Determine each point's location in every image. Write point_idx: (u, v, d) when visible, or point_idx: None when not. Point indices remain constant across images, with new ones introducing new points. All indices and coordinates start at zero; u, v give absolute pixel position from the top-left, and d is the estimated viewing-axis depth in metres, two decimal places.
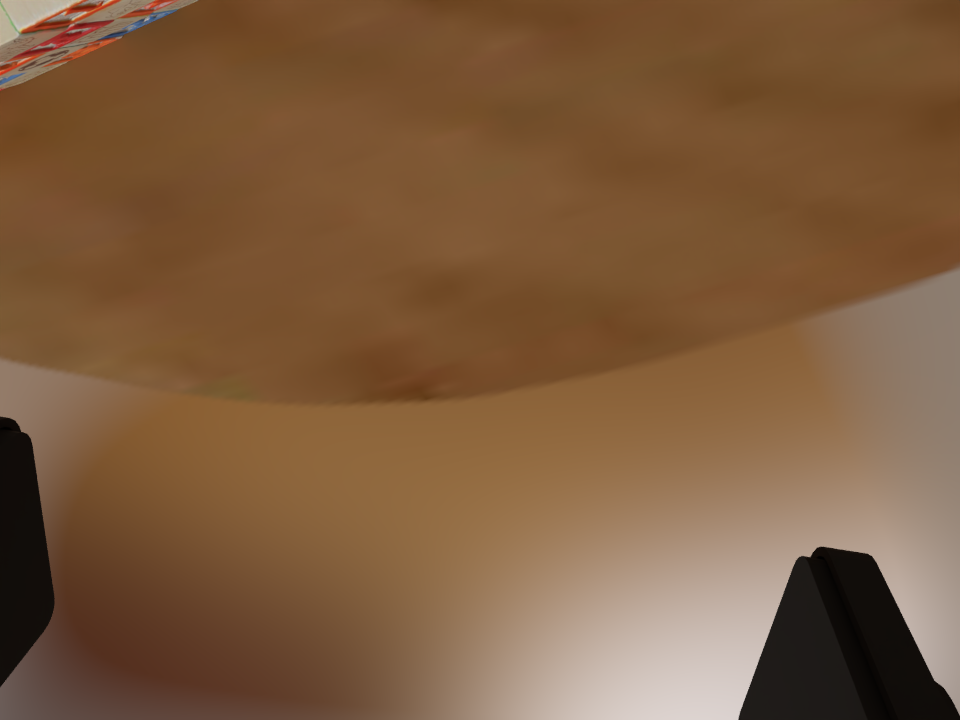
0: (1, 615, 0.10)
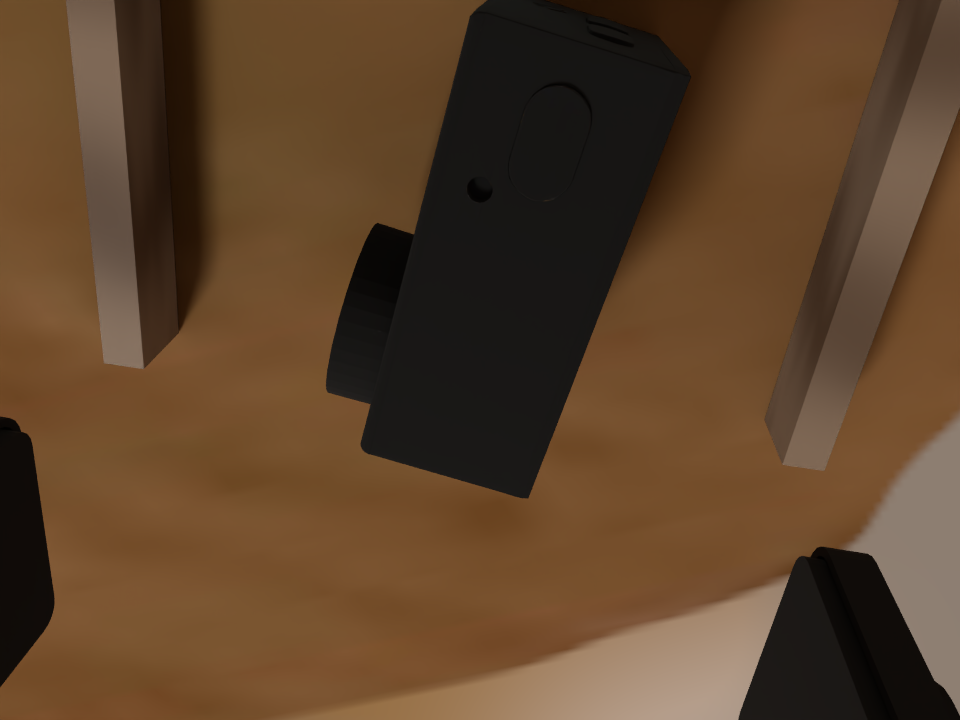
0: (1, 615, 0.10)
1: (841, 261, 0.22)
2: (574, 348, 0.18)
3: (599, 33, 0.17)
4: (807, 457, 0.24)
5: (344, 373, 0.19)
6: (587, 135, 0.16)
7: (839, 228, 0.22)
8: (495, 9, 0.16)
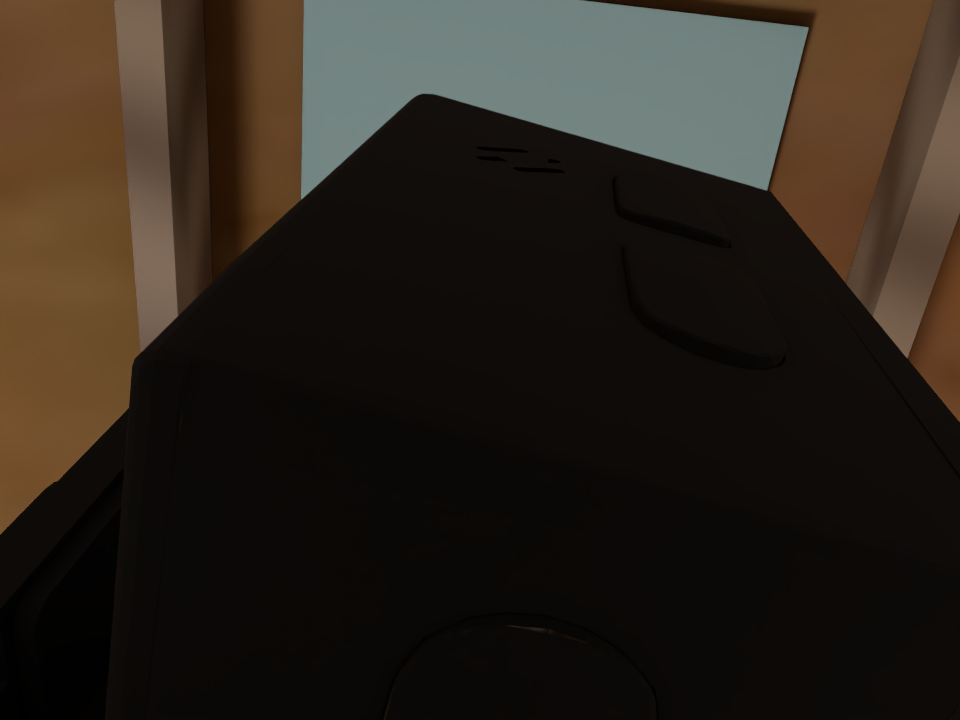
0: None
1: None
2: None
3: (672, 327, 0.05)
4: None
5: None
6: None
7: None
8: (276, 290, 0.04)
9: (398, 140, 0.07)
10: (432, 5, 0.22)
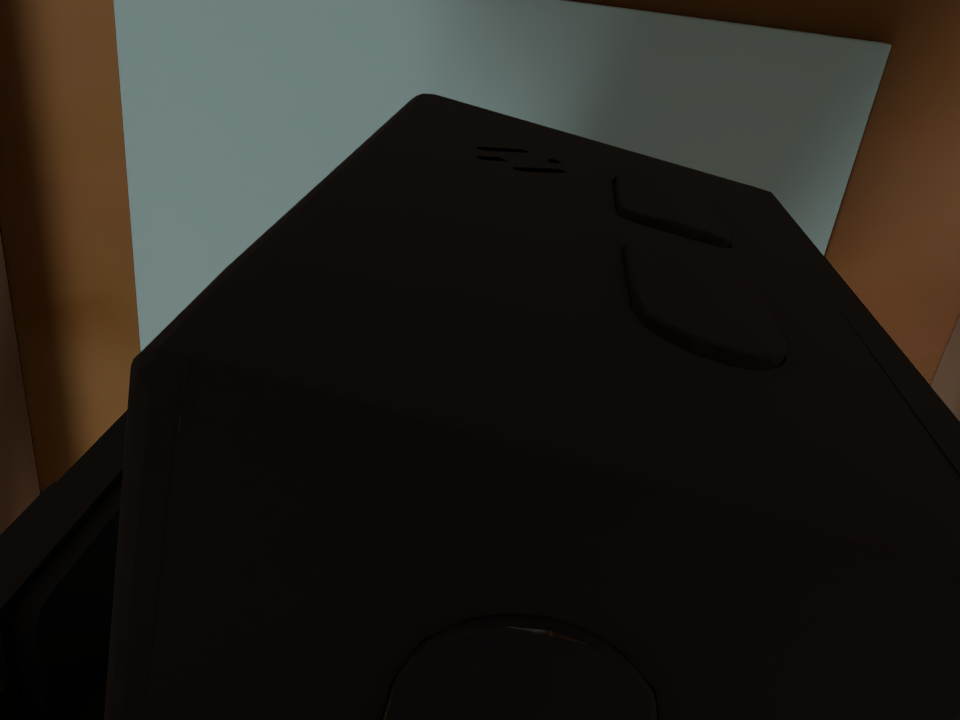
0: None
1: None
2: None
3: (672, 328, 0.05)
4: None
5: None
6: None
7: None
8: (276, 290, 0.04)
9: (398, 140, 0.07)
10: (310, 2, 0.14)
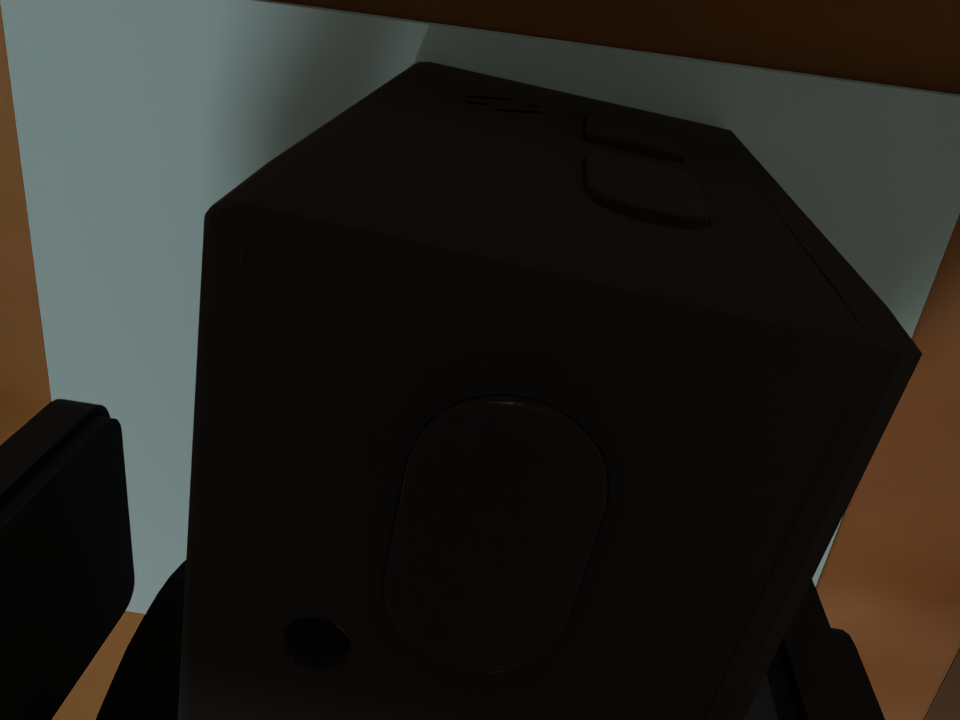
0: (93, 592, 0.10)
1: None
2: None
3: (615, 200, 0.06)
4: None
5: None
6: (600, 519, 0.05)
7: None
8: (304, 172, 0.05)
9: (397, 90, 0.09)
10: (252, 44, 0.11)
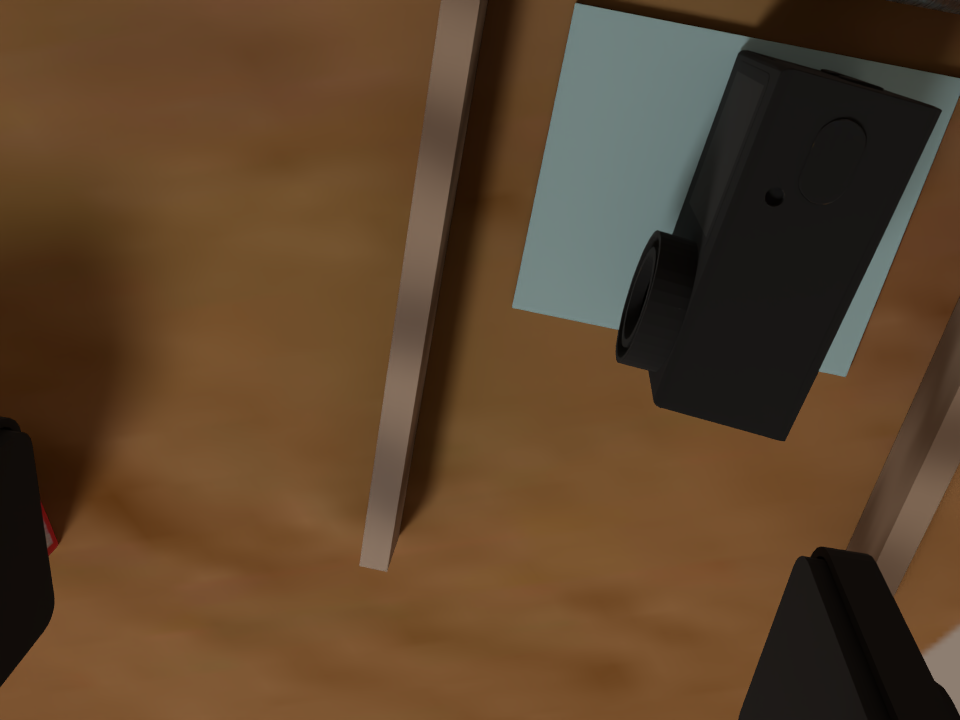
0: (1, 615, 0.10)
1: (875, 543, 0.33)
2: (835, 317, 0.24)
3: (860, 81, 0.23)
4: None
5: (647, 343, 0.25)
6: (861, 154, 0.22)
7: (874, 516, 0.34)
8: (791, 66, 0.22)
9: (764, 55, 0.25)
10: (672, 40, 0.28)
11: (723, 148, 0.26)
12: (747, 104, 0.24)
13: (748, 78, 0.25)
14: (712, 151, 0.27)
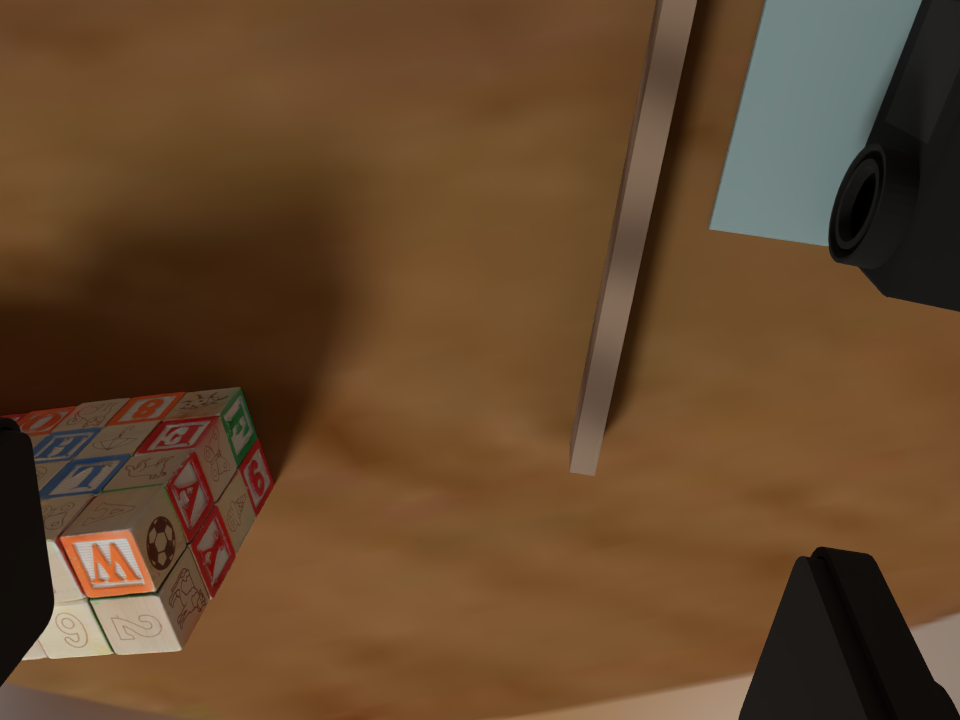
0: (1, 615, 0.10)
1: None
2: None
3: None
4: None
5: (877, 240, 0.29)
6: None
7: None
8: None
9: None
10: None
11: (931, 66, 0.30)
12: None
13: (956, 2, 0.29)
14: (912, 71, 0.31)
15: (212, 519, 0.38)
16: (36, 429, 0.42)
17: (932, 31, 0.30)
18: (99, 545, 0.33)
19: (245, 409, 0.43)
